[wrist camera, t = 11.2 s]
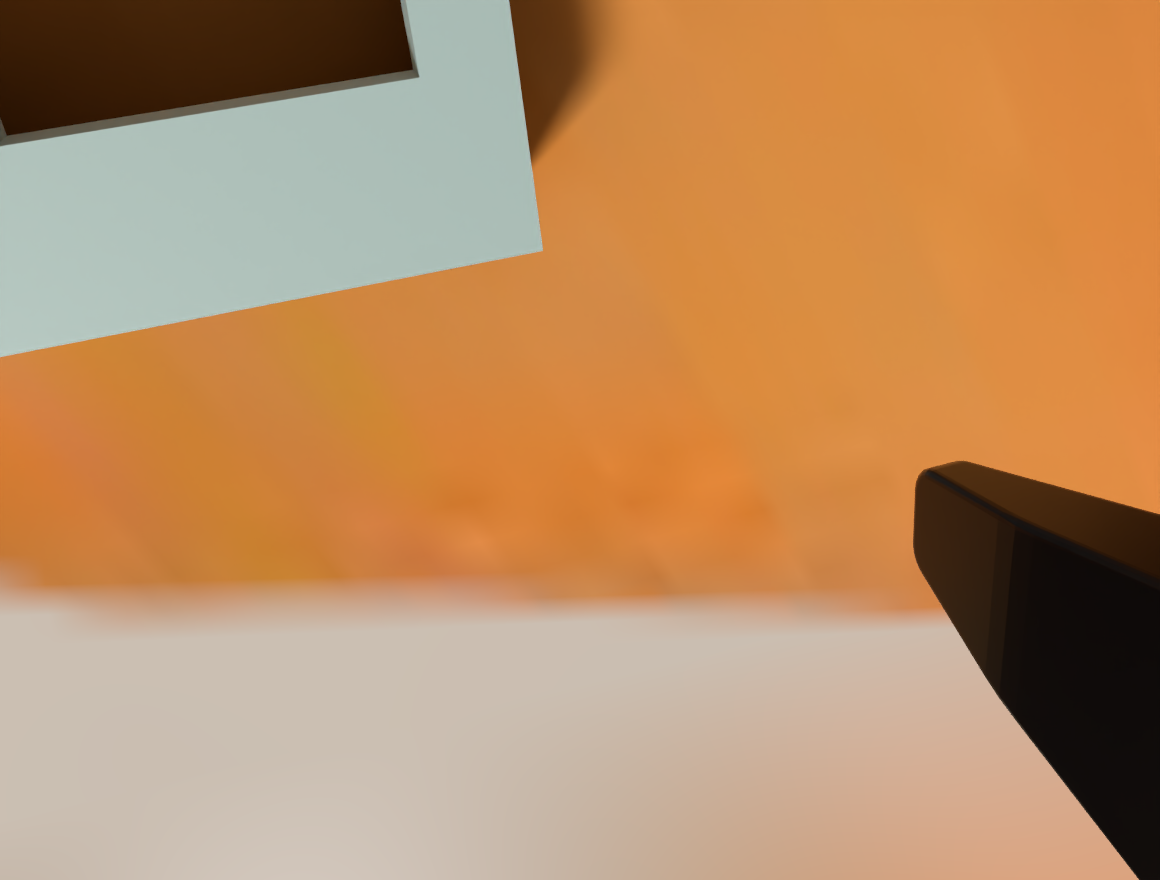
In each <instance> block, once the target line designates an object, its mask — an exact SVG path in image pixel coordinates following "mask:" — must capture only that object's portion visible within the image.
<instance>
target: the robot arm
mask: <svg viewBox="0 0 1160 880" xmlns="http://www.w3.org/2000/svg"><path fill="white" fill-rule="evenodd" d="M913 548H914V554H915V558H916V561H917V564H918V566H919V568H920V570H921V572H922V574H923V576H924V577H925V579H926V580H927V582H928V584H929V585H930V587H931V589H932V590H933V592H934V594H935V595H936V597H937V599H938V600H939V602H940V603H941V605H942V607H943V608H944V610H945V612H946V613H947V615H948V617H949V618H950V620H951V621H952V623H953V625H954V626H955V628H956V630H957V631H958V633H959V635H960V636H961V638H962V639H963V641H964V643H965V644H966V646H967V648H968V649H969V651H970V653H971V654H972V656H973V657H974V659H975V661H976V662H977V664H978V665H979V667H980V669H981V670H982V672H983V674H984V675H985V677H986V679H987V680H988V682H989V683H990V685H991V686H992V688H993V689H994V691H995V692H996V694H997V695H998V697H999V698H1000V700H1001V701H1002V702H1003V704H1004V705H1005V706H1006V708H1007V709H1008V710H1009V712H1010V713H1011V715H1012V716H1013V717H1014V718H1015V720H1016V721H1017V722H1018V724H1019V725H1020V726H1021V728H1022V729H1023V730H1024V731H1025V733H1026V734H1027V735H1028V737H1029V738H1030V739H1031V741H1032V742H1033V743H1034V744H1035V746H1036V747H1037V748H1038V750H1039V751H1040V752H1041V753H1042V755H1043V756H1044V757H1045V758H1046V760H1047V761H1048V762H1049V764H1050V765H1051V766H1052V768H1053V769H1054V770H1055V771H1056V773H1057V774H1058V775H1059V777H1060V778H1061V779H1062V780H1063V782H1064V783H1065V785H1066V786H1067V787H1068V788H1069V790H1070V791H1071V792H1072V794H1073V795H1074V796H1075V797H1076V799H1077V800H1078V801H1079V802H1080V804H1081V805H1082V806H1083V808H1084V809H1085V810H1086V812H1087V813H1088V814H1089V816H1090V817H1091V818H1092V819H1093V821H1094V822H1095V823H1096V825H1097V826H1098V827H1099V828H1100V830H1101V831H1102V832H1103V834H1104V835H1105V836H1106V838H1107V839H1108V840H1109V841H1110V843H1111V844H1112V845H1113V847H1114V848H1115V849H1116V850H1117V852H1118V853H1119V854H1120V855H1121V857H1122V858H1123V859H1124V861H1125V862H1126V863H1127V865H1128V866H1129V867H1130V869H1131V870H1132V871H1133V872H1134V874H1135V875H1136V876H1137V878H1138V879H1139V880H1160V514H1156V513H1153V512H1149V511H1145V510H1142V509H1138V508H1134V507H1131V506H1127V505H1123V504H1120V503H1116V502H1113V501H1109V500H1105V499H1102V498H1098V497H1094V496H1091V495H1087V494H1083V493H1080V492H1076V491H1073V490H1069V489H1065V488H1062V487H1058V486H1054V485H1051V484H1047V483H1043V482H1040V481H1036V480H1033V479H1029V478H1025V477H1022V476H1018V475H1014V474H1011V473H1007V472H1003V471H1000V470H996V469H993V468H989V467H985V466H982V465H978V464H974V463H971V462H967V461H955V462H951V463H947V464H944V465H940V466H936V467H932V468H928V469H925V470H923V471H922V472H921V473H920V475H919V476H918V478H917V481H916V487H915V508H914V534H913Z"/></svg>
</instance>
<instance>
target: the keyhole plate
mask: <svg viewBox="0 0 1160 880" xmlns="http://www.w3.org/2000/svg"><path fill="white" fill-rule="evenodd" d="M401 6H402V11H403V17H404V22H405V28H406V34H407V39H408V45H409V50H410V56H411V61H412V67H413V70H408V71H402V72H396V73H390V74H383V75H377V76H371V77H365V78H359V79H353V80H346V81H340V82H334V83H328V84H322V85H316V86H310V87H303V88H297V89H291V90H285V91H279V92H273V93H267V94H260V95H254V96H248V97H242V98H236V99H230V100H224V101H217V102H211V103H205V104H199V105H193V106H187V107H181V108H174V109H168V110H162V111H156V112H150V113H144V114H138V115H131V116H125V117H119V118H113V119H107V120H101V121H95V122H88V123H82V124H76V125H70V126H64V127H58V128H52V129H45V130H39V131H33V132H27V133H21V134H15V135H8V136H7V135H6V132H5V129H4V127H3V124H2V121H1V118H0V357H3V356H8V355H13V354H18V353H23V352H28V351H33V350H39V349H44V348H49V347H54V346H59V345H64V344H69V343H74V342H79V341H84V340H90V339H95V338H100V337H105V336H110V335H115V334H120V333H125V332H130V331H136V330H141V329H146V328H151V327H156V326H161V325H166V324H171V323H176V322H182V321H187V320H192V319H197V318H202V317H207V316H212V315H217V314H222V313H227V312H233V311H238V310H243V309H248V308H253V307H258V306H263V305H268V304H273V303H279V302H284V301H289V300H294V299H299V298H304V297H309V296H314V295H319V294H325V293H330V292H335V291H340V290H345V289H350V288H355V287H360V286H365V285H370V284H376V283H381V282H386V281H391V280H396V279H401V278H406V277H411V276H416V275H422V274H427V273H432V272H437V271H442V270H447V269H452V268H457V267H462V266H468V265H473V264H478V263H483V262H488V261H493V260H498V259H503V258H508V257H513V256H519V255H524V254H529V253H534V252H539V251H543V247H542V240H541V232H540V225H539V218H538V210H537V203H536V195H535V188H534V181H533V173H532V166H531V159H530V151H529V144H528V136H527V129H526V122H525V114H524V107H523V100H522V92H521V85H520V78H519V70H518V63H517V55H516V48H515V41H514V33H513V26H512V19H511V11H510V4H509V0H401Z"/></svg>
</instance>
